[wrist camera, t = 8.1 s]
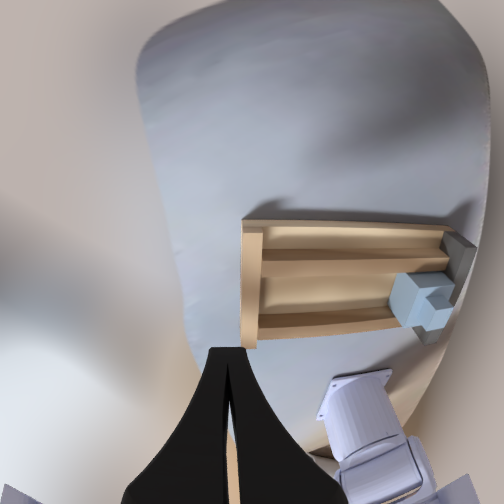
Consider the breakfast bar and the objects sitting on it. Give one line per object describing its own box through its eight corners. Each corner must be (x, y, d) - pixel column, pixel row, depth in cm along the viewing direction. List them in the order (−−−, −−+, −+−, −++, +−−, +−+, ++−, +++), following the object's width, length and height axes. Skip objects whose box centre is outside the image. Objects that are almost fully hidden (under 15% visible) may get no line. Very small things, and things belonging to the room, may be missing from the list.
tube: (374, 473, 46) (321, 467, 36) (357, 486, 46) (297, 484, 36) (362, 459, 51) (307, 447, 41) (346, 472, 50) (285, 463, 40)
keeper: (421, 300, 23) (447, 334, 18) (386, 304, 22) (412, 342, 18) (434, 264, 21) (466, 296, 17) (399, 265, 21) (430, 301, 16)
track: (416, 315, 25) (436, 342, 22) (239, 330, 24) (242, 368, 20) (448, 225, 21) (477, 247, 17) (241, 219, 19) (244, 248, 16)
